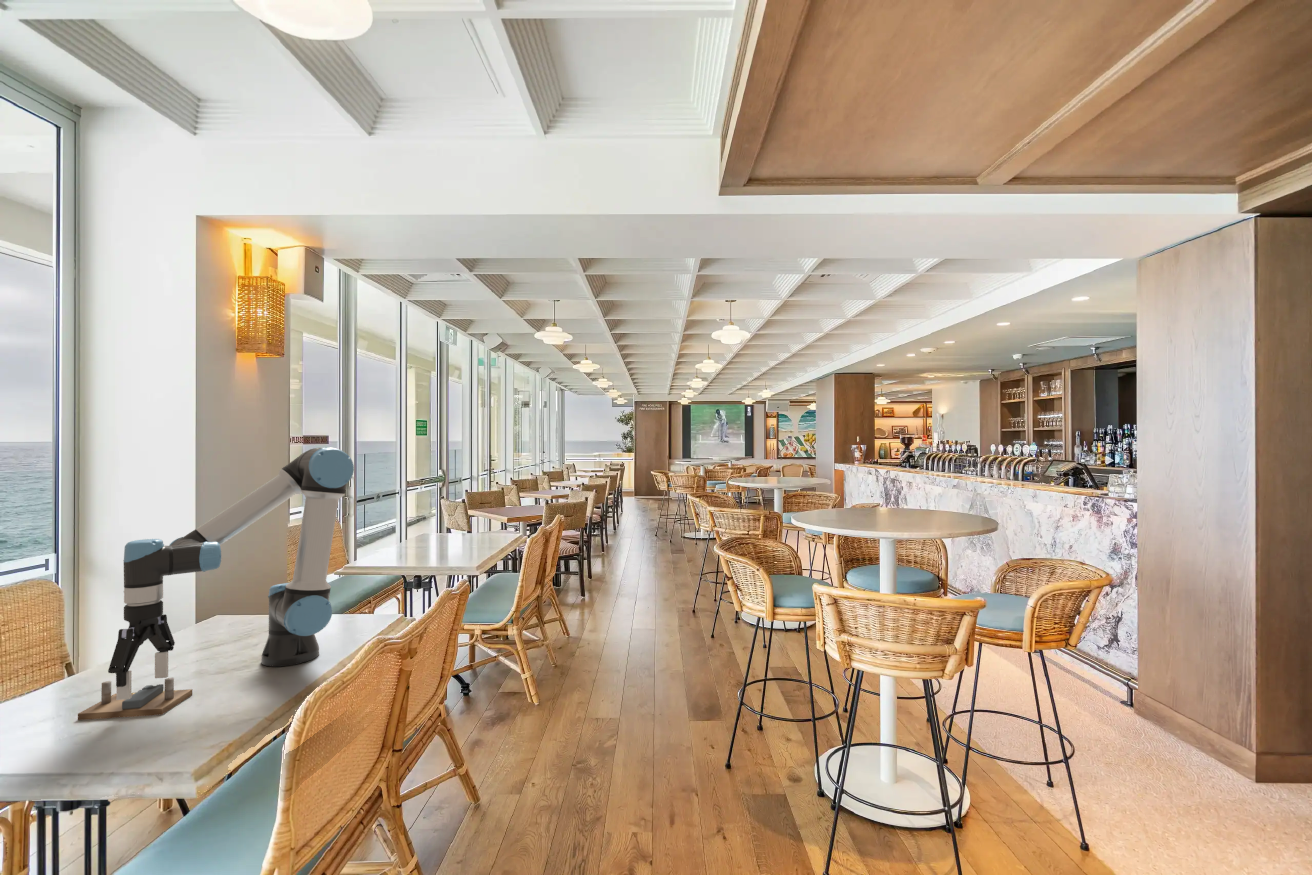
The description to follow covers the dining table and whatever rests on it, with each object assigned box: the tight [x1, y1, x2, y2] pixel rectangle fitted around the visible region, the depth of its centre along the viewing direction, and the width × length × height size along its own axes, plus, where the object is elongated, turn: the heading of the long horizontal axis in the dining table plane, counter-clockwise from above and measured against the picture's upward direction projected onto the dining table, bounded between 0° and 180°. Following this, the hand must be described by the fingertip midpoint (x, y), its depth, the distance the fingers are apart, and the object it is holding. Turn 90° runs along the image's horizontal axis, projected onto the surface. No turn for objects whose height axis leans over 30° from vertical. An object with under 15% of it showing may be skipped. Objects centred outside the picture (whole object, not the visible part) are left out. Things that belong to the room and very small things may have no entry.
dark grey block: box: [122, 684, 165, 710], centre depth 151 cm, size 4×10×2 cm, turn 14°
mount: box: [77, 677, 193, 721], centre depth 151 cm, size 18×12×6 cm, turn 99°
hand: (143, 687), depth 151 cm, fingers open, 13 cm apart
